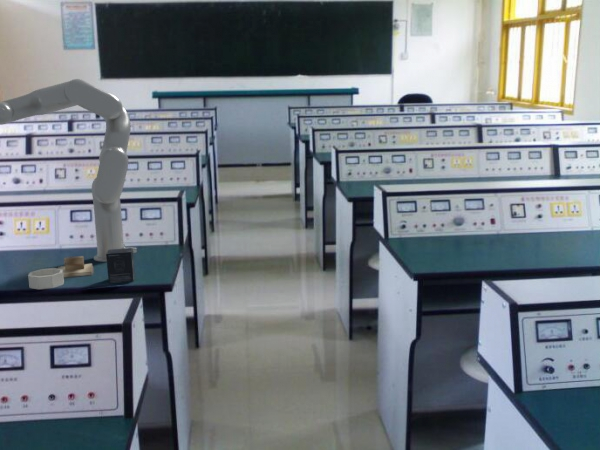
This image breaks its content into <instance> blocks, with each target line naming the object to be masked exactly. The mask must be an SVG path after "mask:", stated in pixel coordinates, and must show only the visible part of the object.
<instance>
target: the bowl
mask: <svg viewBox="0 0 600 450" xmlns="http://www.w3.org/2000/svg"><path fill="white" fill-rule="evenodd" d="M27 276H28V279H27V280H28V285H29V289H35V290H49V289H54V288H57V287H60V286H63V285H64V283H65V278H64V275H63V269H58V268H55V267H51V268H49V267H48V268H41V269H37V270H33V271H30V272H28V275H27Z"/></svg>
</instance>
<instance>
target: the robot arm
mask: <svg viewBox="0 0 600 450" xmlns="http://www.w3.org/2000/svg"><path fill="white" fill-rule="evenodd" d="M75 106H76V107H77V106H78V107H80V108H83V109H84V110H87V111H88V112H90V113H93V114H95V115H97V116H99V117H101V118H103V119H104V121H105V132H104V139H103V142H102V146H101V150H100V153H99V156H98V157H99V158H98V161H99V164H98V168H97V169H98V170H97V174H96V177H95V178H94V180H93V181H92V184H91V195H92V202H93V213H94V225H95V226H94V227H95V236H96V238H95V239H96V249H97V250H96V251H97V254H96V255H94V256H93V260H94V261H95V262H104V263H107V259H106V253H107V251H108V250H110V249H125V248H132V249H133V254H134V253H137V251H138V250H137V247H133V246H129V247H128V246H125V244H124V233H123V232H124V231H123V219H122V216H123V215H122V205H121V195H122V193H123V189H124V185H125V180H126V175H127V173H128V168H129V156H128V155H127V151H128V147H129V141H130V137H131V120H130V116H129V113H128V112H127V110H126V108H125V107H124V106H123V104H122V102H121V100H120V99H119V97H117V96H115V95H114V94H112V93H109V92H107V91H105V90H104V89H101V88H98V87H97V86H94V85H93V84H90V83H89V82H87V81H85V80H83V79H80V78H75V79H72V80H68V81H65V82H61V83H58V84H54V85H51V86H46V87H42V88H39V89H38V88H37V89H35V90H33V91H31V92H29V93H27V94H24V95H22V96H21V95H20V96H18V97H14V98H11V99H7V100H3V101H0V125H3V126H4V125H7V124H9V123H12V122H16V121H20V120H23V119H27V118H30V117H35V116H42V115H47V114H51V113H54V112H58V111H60V110H61V111H63V110H65V109H69V108H73V107H75Z"/></svg>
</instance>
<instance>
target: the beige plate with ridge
mask: <svg viewBox="0 0 600 450" xmlns="http://www.w3.org/2000/svg"><path fill="white" fill-rule="evenodd" d="M84 258H85V257H84V255H79V256H68V257H64V258H63V259H64V265H61V266H58V268H57V269H63V275H64V277H69V278H75V277H74V276H80V277H86V276H85V275H91V276H93V275H92V266H93V263H85V260H84Z"/></svg>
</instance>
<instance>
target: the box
mask: <svg viewBox="0 0 600 450" xmlns="http://www.w3.org/2000/svg"><path fill="white" fill-rule="evenodd" d="M106 259H107V262H106V265H107V266H106V267H107V269H106V270H107V277H108V278H107V280H108V284H115V283H117V284H120V283H131V282H134V280H135V278H136V275H135V261H134V253H133V249H132V248H125V249H110V250H108V251H107V253H106Z"/></svg>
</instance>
